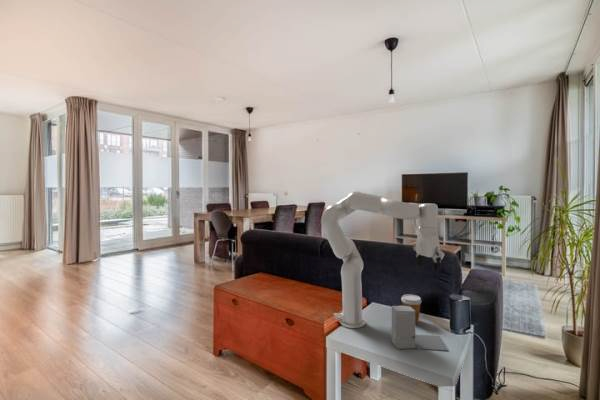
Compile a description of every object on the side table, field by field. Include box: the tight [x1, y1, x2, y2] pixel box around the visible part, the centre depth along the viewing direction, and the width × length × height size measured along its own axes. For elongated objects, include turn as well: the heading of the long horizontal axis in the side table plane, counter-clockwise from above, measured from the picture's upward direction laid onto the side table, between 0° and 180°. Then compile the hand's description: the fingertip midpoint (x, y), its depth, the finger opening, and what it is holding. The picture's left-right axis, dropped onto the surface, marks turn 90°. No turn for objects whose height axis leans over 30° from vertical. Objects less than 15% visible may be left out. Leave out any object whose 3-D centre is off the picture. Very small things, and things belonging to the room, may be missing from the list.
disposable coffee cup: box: [400, 293, 423, 325], centre depth 150 cm, size 10×10×12 cm
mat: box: [415, 334, 449, 352], centre depth 129 cm, size 12×12×1 cm
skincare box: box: [391, 305, 416, 350], centre depth 128 cm, size 8×7×16 cm
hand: (427, 268), depth 138 cm, fingers open, 9 cm apart
